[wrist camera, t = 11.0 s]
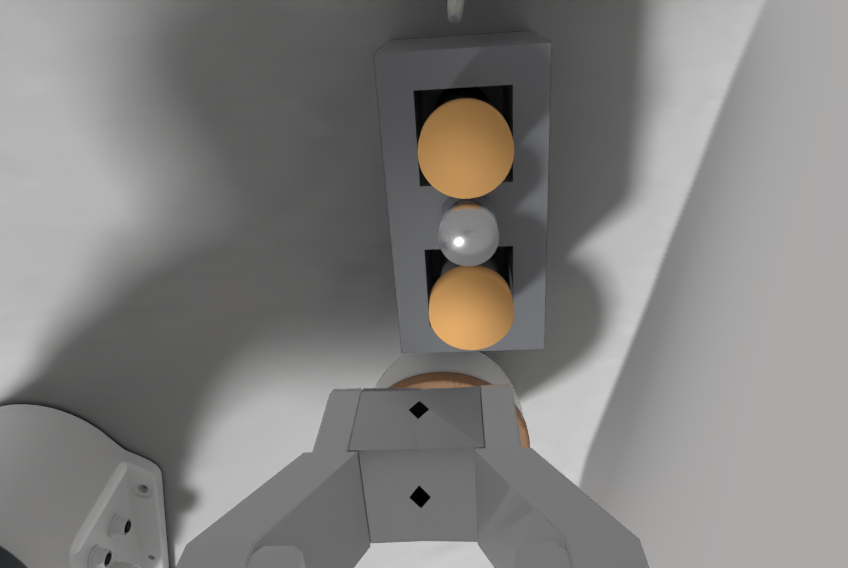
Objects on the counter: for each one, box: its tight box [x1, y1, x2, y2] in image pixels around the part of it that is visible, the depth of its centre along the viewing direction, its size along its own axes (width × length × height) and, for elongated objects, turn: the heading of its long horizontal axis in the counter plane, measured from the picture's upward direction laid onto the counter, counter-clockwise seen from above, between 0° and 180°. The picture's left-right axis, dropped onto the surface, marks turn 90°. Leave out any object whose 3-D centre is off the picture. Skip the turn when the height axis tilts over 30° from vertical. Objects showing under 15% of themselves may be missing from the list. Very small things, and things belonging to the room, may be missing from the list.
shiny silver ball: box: [438, 195, 499, 266], centre depth 30 cm, size 3×3×3 cm
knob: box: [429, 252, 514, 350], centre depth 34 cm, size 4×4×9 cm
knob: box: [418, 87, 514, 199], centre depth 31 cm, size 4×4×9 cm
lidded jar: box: [375, 351, 530, 448], centre depth 41 cm, size 11×11×9 cm
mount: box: [373, 31, 551, 354], centre depth 35 cm, size 16×8×8 cm, turn 4°
